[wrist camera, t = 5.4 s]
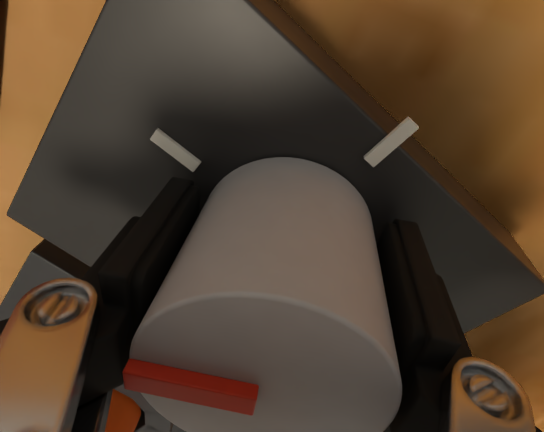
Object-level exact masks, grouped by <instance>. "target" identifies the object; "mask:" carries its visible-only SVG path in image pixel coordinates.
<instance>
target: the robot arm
mask: <svg viewBox="0 0 544 432" xmlns="http://www.w3.org/2000/svg"><path fill="white" fill-rule="evenodd" d="M199 207H200V187H198V186H194V182H193V180H188V179H183V178H178V177H172V178H171V179H170V180H169V181H168V183H167V184H166V185H165V187H164V188H163V189H162V190H161V192H160V193H159V194H158V196H157V197H156V198H155V199H154V201H153V202H152V203H151V205H150V206H149V207H148V208H147V210H146V211H145V212H144V214H143V215H142V216H141V217H138V216H134V217H132V218H131V219H130V220H129V221H128V222H127V223H126V225H125V226H124V227H123V228H122V230H121V231H120V232H119V233H118V235H117V236H116V237H115V238H114V239H113V241H112V242H111V243H110V244H109V246H108V247H107V248H106V249H105V250H104V252H103V253H102V254H101V255H100V257H99V258H98V259H97V260H96V262H95V263H94V264H93V265H92V266H91V268H90V269H89V270H88V271H87V273H86V274H85V275H84V276H83V278H82V279H77V278H60V279H54V280H51V281H47V282H44V283H42V284H40V285H38V286H36V287H34V288H32V289H31V290H30V291H28V292H27V293H26V294H25V295H23V296H22V298H21V299H20V300H19V302H18V303H17V304H16V306H15V308H14V310H13V312H12V314H11V316H10V318H8V319H5V320H2V321H0V432H105V428H106V423H107V418H108V413H109V407H110V402H111V397H112V392H113V389H115V388H117V387H119V386H121V385H122V384H123V383H124V381H123V373H122V372H123V370H124V368H125V366H126V364H127V362H128V360H129V359H130V358H129V354H130V347H131V343H132V339H133V337H134V335H135V333H136V331H137V329H138V327H139V325H140V324H141V322H142V320H143V318H144V316H145V314H146V312H147V311H148V309H149V307H150V305H151V303H152V301H153V299H154V298H155V296H156V294H157V292H158V290H159V288H160V286H161V285H162V283H163V281H164V279H165V277H166V275H167V273H168V272H169V270H170V268H171V266H172V264H173V262H174V260H175V259H176V257H177V255H178V253H179V251H180V249H181V247H182V246H183V244H184V242H185V240H186V238H187V236H188V234H189V233H190V231H191V229H192V227H193V225H194V223H195V221H196V220H197V218H198V216H199ZM377 250H378V256H379V261H380V267H381V272H382V277H383V283H384V288H385V294H386V299H387V305H388V310H389V316H390V321H391V326H392V332H393V337H394V343H395V348H396V354H397V359H398V364H399V370H400V375H401V381H402V399H401V403H400V407H399V410H398V412H397V414H396V416H395V418H394V420H393V421H392V422H391V424H390V425H389V426H388V427H387V428H386V429H385V430H384V431H383V432H542V431H541V430H540V429H538V428H537V427H536V426H535V423H534V418H533V412H532V407H531V404H530V401H529V398H528V396H527V394H526V393H525V391H524V390H523V388H522V387H521V385H520V384H519V383H518V382H517V381H516V380H515V379H514V378H513V377H512V376H511V375H510V374H509V373H507V372H506V371H505V370H503V369H502V368H501V367H499V366H497V365H495V364H494V363H492V362H490V361H487V360H484V359H481V358H477V357H472V354H471V352H470V349H469V346H468V344H467V341H466V338H465V336H464V333H463V331H462V328H461V325H460V323H459V320H458V318H457V315H456V312H455V310H454V307H453V304H452V302H451V299H450V297H449V294H448V291H447V289H446V286H445V283H444V281H443V279H442V277H441V276H440V275H438V274H436V273H435V270H434V267H433V264H432V262H431V259H430V256H429V253H428V251H427V248H426V245H425V242H424V240H423V237H422V234H421V232H420V229H419V226H418V224H417V223H416V222H411V221H405V220H400V219H395V220H394V221H393V222H392V223H388V222H387V223H386V224H385V226H384V229H383V231H382V234H381V236H380V239H379V241H378V244H377Z"/></svg>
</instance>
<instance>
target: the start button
mask: <svg viewBox="0 0 544 432" xmlns="http://www.w3.org/2000/svg"><path fill="white" fill-rule="evenodd" d="M140 416H141V408H140V407H139V406H138V405H137V404H136V402H135V401H134V400H133V399H132V398H130V397H128V396H126V395H124V394H122V393H120V392H118V391H117V390H115V389H113V392H112V397H111V402H110V407H109V413H108V418H107V423H106V428H105V432H134V430H135V428H136V426H137V423H138V421H139V419H140Z"/></svg>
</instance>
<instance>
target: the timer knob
mask: <svg viewBox="0 0 544 432" xmlns="http://www.w3.org/2000/svg"><path fill="white" fill-rule="evenodd" d="M129 358H130V359H129V360H128V362H127V364H126V366H125V368H124V370H123V372H122V373H123V381H124V388H125V389H126V390H131V391H136V392H141V394H142V395H143V397H144V398H145V399H146V400H147V401H148V403H149V404H150V405H151V406H152V407H153V408H154V409H155V410H156V411H157V412H158V413H160V414H161V415H162V416H163V417H165V418H166V419H167V420H168V421H170V422H171V423H173V424H174V425H176V426H177V427H179V428H181V429H182V430H184V431H186V432H383V431H384V430H385V429H386V428H387V427H388V426H389V425H390V424H391V422H392V421H393V420H394V418H395V416H396V414H397V412H398V410H399V407H400V403H401V399H402V381H401V375H400V370H399V364H398V359H397V354H396V348H395V343H394V337H393V332H392V326H391V321H390V316H389V310H388V305H387V299H386V294H385V288H384V283H383V277H382V272H381V267H380V261H379V256H378V250H377V245H376V239H375V234H374V229H373V223H372V218H371V214H370V212H369V209H368V206H367V204H366V203H365V201H364V199H363V197H362V196H361V195H360V193H359V192H358V191H357V190H356V188H355V187H354V186H353V185H352V184H351V183H350V182H349V181H348V180H346V179H345V178H344V177H342V176H341V175H340V174H338V173H337V172H335V171H333V170H331V169H329V168H328V167H326V166H323V165H320V164H318V163H315V162H312V161H308V160H304V159H299V158H291V157H275V158H266V159H261V160H257V161H253V162H250V163H248V164H245V165H243V166H241V167H239V168H237V169H235V170H233V171H232V172H230V173H229V174H228V175H227V176H225V177H224V178H223V179H222V180H221V181H220V182H219V183H218V184H217V185H216V186H215V188H214V189H213V191H212V192H211V194H210V195H209V197H208V199H207V201H206V203H205V205H204V207H203V208H202V210H201V212H200V214H199V216H198V218H197V220H196V221H195V223H194V225H193V227H192V229H191V231H190V233H189V234H188V236H187V238H186V240H185V242H184V244H183V246H182V247H181V249H180V251H179V253H178V255H177V257H176V259H175V260H174V262H173V264H172V266H171V268H170V270H169V272H168V273H167V275H166V277H165V279H164V281H163V283H162V285H161V286H160V288H159V290H158V292H157V294H156V296H155V298H154V299H153V301H152V303H151V305H150V307H149V309H148V311H147V312H146V314H145V316H144V318H143V320H142V322H141V324H140V325H139V327H138V329H137V331H136V333H135V335H134V337H133V339H132V343H131V347H130V354H129Z"/></svg>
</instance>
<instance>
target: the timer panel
mask: <svg viewBox="0 0 544 432" xmlns="http://www.w3.org/2000/svg"><path fill="white" fill-rule="evenodd" d="M418 129H419V127H418V125H417V124H416V123H415V122H414V121H413V120H412V119H411V118H410V117H409V116H408V117H407V118H406V119H405V120H403V121H402V122H401V123H400V124H399V123H398V122H397V121H396V120H395V119H394V118H392V117H391V116H390V115H389V114H388V113H387V112H386V111H385V110H384V109H383V108H382V107H381V106H380V105H379V104H378V103H377V102H376V101H375V100H374V99H373V98H372V97H371V96H370V95H369V94H368V93H367V92H366V91H365V90H364V89H363V88H362V87H361V86H360V85H359V84H358V83H357V82H356V81H355V80H354V79H353V78H352V77H351V76H350V75H349V74H348V73H347V72H346V71H345V70H344V69H343V68H342V67H341V66H340V65H339V64H338V63H337V62H335V61H334V60H333V59H332V58H331V57H330V56H329V55H328V54H327V53H326V52H325V51H324V50H323V49H322V48H321V47H320V46H319V45H318V44H317V43H316V42H315V41H314V40H313V39H312V38H311V37H310V36H309V35H308V34H307V33H306V32H305V31H304V30H303V29H302V28H301V27H300V26H299V25H298V24H297V23H296V22H295V21H294V20H293V19H292V18H291V17H290V16H289V15H288V14H287V13H286V12H285V11H284V10H283V9H282V8H281V7H279V6H278V5H277V4H276V3H275V2H274V1H273V0H106V2H105V4H104V6H103V8H102V11H101V13H100V15H99V17H98V19H97V21H96V23H95V26H94V28H93V30H92V32H91V34H90V36H89V38H88V41H87V43H86V45H85V47H84V49H83V51H82V53H81V56H80V58H79V60H78V62H77V64H76V66H75V68H74V71H73V73H72V75H71V77H70V79H69V81H68V83H67V86H66V88H65V90H64V92H63V94H62V96H61V98H60V100H59V103H58V105H57V107H56V109H55V111H54V113H53V115H52V118H51V120H50V122H49V124H48V126H47V128H46V130H45V133H44V135H43V137H42V139H41V141H40V143H39V145H38V148H37V150H36V152H35V154H34V156H33V158H32V160H31V163H30V165H29V167H28V169H27V171H26V173H25V175H24V178H23V180H22V182H21V184H20V186H19V188H18V190H17V192H16V195H15V197H14V199H13V201H12V203H11V205H10V207H9V210H8V212H7V216H9V217H10V218H12V219H14V220H15V221H17V222H18V223H20V224H22V225H23V226H25V227H27V228H28V229H30V230H31V231H33V232H35V233H36V234H38V235H40V236H41V237H43V238H44V239H46V240H48V241H49V242H51V243H53V244H54V245H56V246H57V247H59V248H61V249H62V250H64V251H66V252H67V253H69V254H70V255H72V256H74V257H75V258H77V259H79V260H80V261H82V262H83V263H85V264H87V265H88V266H90V267H91V266H92V265H93V264H94V263H95V262H96V260H97V259H98V258H99V257H100V255H101V254H102V253H103V252H104V250H105V249H106V248H107V247H108V246H109V244H110V243H111V242H112V241H113V239H114V238H115V237H116V236H117V235H118V233H119V232H120V231H121V230H122V228H123V227H124V226H125V225H126V223H127V222H128V221H129V220H130V219H131V218H132V217H134V216H138V217H141V216H142V215H143V214H144V212H145V211H146V210H147V208H148V207H149V206H150V205H151V203H152V202H153V201H154V199H155V198H156V197H157V196H158V194H159V193H160V192H161V190H162V189H163V188H164V187H165V185H166V184H167V183H168V181H169V180H170V179H171V178H172V177H178V178H183V179H188V180H193V182H194V186H198V187H200V207H199V214H200V212H201V210H202V208H203V207H204V205H205V203H206V201H207V199H208V197H209V195H210V194H211V192H212V191H213V189H214V188H215V186H216V185H217V184H218V183H219V182H220V181H221V180H222V179H223V178H224V177H225V176H227V175H228V174H229V173H230V172H232V171H233V170H235V169H237V168H239V167H241V166H243V165H245V164H248V163H250V162H253V161H257V160H261V159H266V158H275V157H291V158H299V159H304V160H308V161H312V162H315V163H318V164H320V165H323V166H326V167H328V168H329V169H331V170H333V171H335V172H337V173H338V174H340V175H341V176H342V177H344V178H345V179H346V180H348V181H349V182H350V183H351V184H352V185H353V186H354V187H355V188H356V190H357V191H358V192H359V193H360V195H361V196H362V197H363V199H364V201H365V203H366V204H367V206H368V209H369V212H370V214H371V218H372V223H373V229H374V234H375V239H376V245H377V244H378V241H379V239H380V236H381V234H382V231H383V229H384V226H385V224H386V223H387V222H388V223H392V222H393V221H394V220H395V219H400V220H405V221H411V222H416V223H417V224H418V226H419V229H420V232H421V234H422V237H423V240H424V242H425V245H426V248H427V251H428V253H429V256H430V259H431V262H432V264H433V267H434V270H435V273H436V274H438V275H440V276H441V277H442V279H443V281H444V283H445V286H446V289H447V291H448V294H449V297H450V299H451V302H452V304H453V307H454V310H455V312H456V315H457V318H458V320H459V323H460V325H461V328H462V331H463V333H466V332H468V331H470V330H472V329H474V328H476V327H478V326H480V325H482V324H484V323H486V322H488V321H490V320H492V319H494V318H496V317H498V316H500V315H502V314H504V313H506V312H508V311H510V310H512V309H514V308H516V307H518V306H520V305H522V304H524V303H526V302H528V301H530V300H532V299H534V298H536V297H538V296H540V295H542V294H544V280H543V279H542V277H541V276H540V274H539V273H538V272H537V270H536V269H535V267H534V266H533V265H532V263H531V262H530V260H529V259H528V258H527V256H526V255H525V253H524V252H523V251H522V249H521V248H520V246H519V245H518V244H517V242H516V241H515V239H514V238H513V237H512V235H511V234H510V232H509V231H508V230H507V229H505V228H504V227H503V226H502V225H501V224H500V223H499V222H498V221H497V220H496V219H495V218H494V217H493V216H492V215H491V214H490V213H489V212H488V211H487V210H486V209H485V208H484V207H483V206H482V205H481V204H480V203H479V202H478V201H477V200H476V199H475V198H474V197H473V196H472V195H471V194H470V193H469V192H468V191H467V190H466V189H465V188H464V187H463V186H462V185H461V184H460V183H459V182H458V181H457V180H456V179H455V178H454V177H453V176H452V175H451V174H450V173H448V172H447V171H446V170H445V169H444V168H443V167H442V166H441V165H440V164H439V163H438V162H437V161H436V160H435V159H434V158H433V157H432V156H431V155H430V154H429V153H428V152H427V151H426V150H425V149H424V148H423V147H422V146H421V145H420V144H419V143H418V142H417V141H416V140H415V139H414V138H413V137H412V136H411V135H412V134H413V133H414V132H415V131H416V130H418Z"/></svg>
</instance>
